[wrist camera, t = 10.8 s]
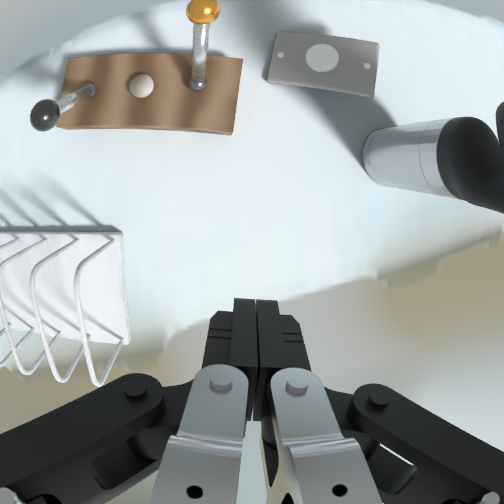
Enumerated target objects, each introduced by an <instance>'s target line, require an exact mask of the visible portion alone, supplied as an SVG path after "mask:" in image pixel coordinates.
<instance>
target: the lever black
mask: <svg viewBox="0 0 504 504" xmlns="http://www.w3.org/2000/svg"><path fill="white" fill-rule="evenodd" d="M97 90H98V89H97V86H96V85H95V84H94V83H87V84H85V85H84V86H83V87H82V88H81V89H79V90H77V91H75V92H73V93H71V94H69V95H67V96H65V97H63V98H61V99H59V100H57V101H53V100H50V99H45V100H41V101H39V102H38V103H37V104H36V105H35V106H34V107H33V109H32V111H31V114H30V122H31V125H32V126H33V128H35V129H36V130H38V131H48V130H50V129H52V128H53V127H54V126H55V125H56V124H57V122H58V120H59V117H60V114H61V113H63V112H65V111H66V110H68V109H70V108H71V107H73V106H75V105H77V104H78V103H80V102H82V101H84V100H85V99H91V98H93V97H95V95H96V94H97Z"/></svg>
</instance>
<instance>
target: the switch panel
mask: <svg viewBox="0 0 504 504" xmlns="http://www.w3.org/2000/svg"><path fill="white" fill-rule="evenodd" d="M242 63H243V59H238V58H230V57H221V56H210V55H207V61H206V73H205V78H206V80H207V86H206V88H205V89H204V90H202V91H200V92H195V91H193V90H192V89H191V88H190V87H189V81H190V79H191V78H192V54H175V53H131V54H110V55H97V56H87V57H78V58H70V59H69V61H68V65H67V69H66V74H65V78H64V83H63V88H62V93H61V98H63V97H65V96H67V95H69V94H71V93H73V92H75V91H77V90H79V89H81V88H82V87H83V86H84V85H85V84H87V83H94V84H95V85H96V86H97V89H98V90H97V94H96V95H95V97H93V98H91V99H85V100H84V101H82V102H80V103H78V104H77V105H75V106H73V107H71V108H70V109H68V110H66V111H65V112H63V113H61V114H60V117H59V120H58V122H57V124H56V127H59V128H63V129H68V130H72V129H153V130H173V131H188V132H201V133H212V134H223V135H231V134H232V133H233V128H234V120H235V113H236V105H237V98H238V91H239V83H240V76H241V69H242ZM61 98H60V99H61Z"/></svg>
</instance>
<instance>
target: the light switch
mask: <svg viewBox="0 0 504 504" xmlns="http://www.w3.org/2000/svg"><path fill="white" fill-rule="evenodd" d="M378 55H379V44H378V43H375V42H369V41H364V40H358V39H352V38H345V37H337V36H329V35H320V34H309V33H295V32H277V35H276V40H275V44H274V49H273V53H272V58H271V62H270V67H269V71H268V76H267V81H268V82H269V83H274V84H284V85H294V86H302V87H310V88H317V89H324V90H330V91H336V92H342V93H347V94H353V95H358V96H363V97H367V98H373V97H374V89H375V82H376V74H377V65H378ZM308 65H309V66H308Z"/></svg>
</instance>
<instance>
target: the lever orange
mask: <svg viewBox="0 0 504 504" xmlns="http://www.w3.org/2000/svg"><path fill="white" fill-rule="evenodd" d="M219 14H220V5H219V3H218V2H217V1H216V0H191V1H190V2H189V4H188V5H187V8H186V15H187V17H188V19H189V20H190V21H191V22H193V23H194V28H193V49H192V78H191V79H190V81H189V87H190V88H191V89H192V90H193V91H195V92H200V91H202V90H204V89H205V88H206V86H207V80H206V78H205V73H206V61H207V50H208V40H209V30H210V23H212V22H213V21H215V20H216V19H217V18H218V16H219Z"/></svg>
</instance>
